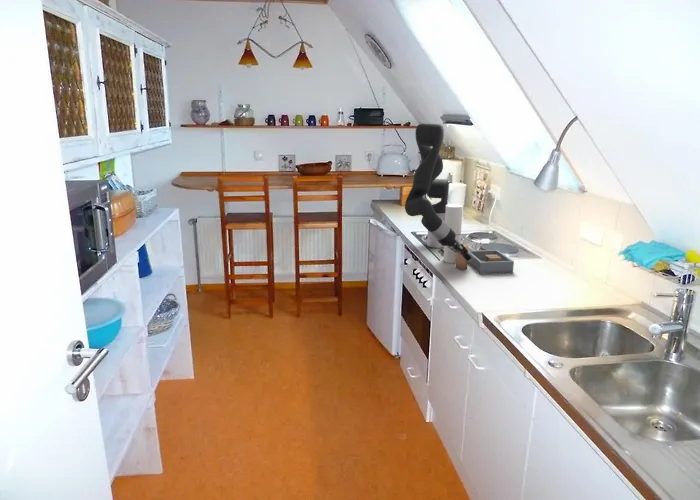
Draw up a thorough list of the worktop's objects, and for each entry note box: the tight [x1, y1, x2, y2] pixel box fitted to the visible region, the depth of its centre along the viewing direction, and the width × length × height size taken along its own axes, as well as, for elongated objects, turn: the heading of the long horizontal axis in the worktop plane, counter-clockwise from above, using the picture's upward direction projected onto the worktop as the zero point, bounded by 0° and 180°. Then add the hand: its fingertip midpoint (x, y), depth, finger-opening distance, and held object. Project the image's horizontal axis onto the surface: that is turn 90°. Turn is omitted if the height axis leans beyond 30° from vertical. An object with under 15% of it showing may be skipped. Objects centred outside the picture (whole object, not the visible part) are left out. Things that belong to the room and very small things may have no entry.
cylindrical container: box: [443, 203, 463, 264], centre depth 219 cm, size 7×7×25 cm
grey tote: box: [468, 249, 515, 275], centre depth 212 cm, size 18×14×5 cm
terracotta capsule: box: [455, 243, 470, 271], centre depth 210 cm, size 5×5×10 cm
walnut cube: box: [485, 255, 501, 262], centre depth 207 cm, size 5×5×5 cm
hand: (465, 257), depth 211 cm, fingers closed on terracotta capsule, 5 cm apart
